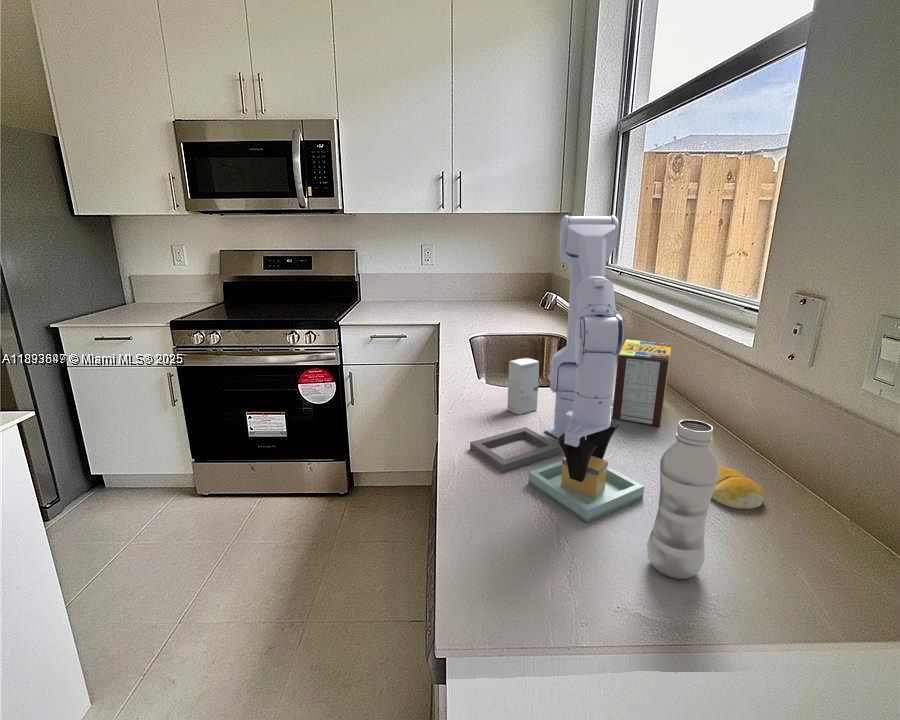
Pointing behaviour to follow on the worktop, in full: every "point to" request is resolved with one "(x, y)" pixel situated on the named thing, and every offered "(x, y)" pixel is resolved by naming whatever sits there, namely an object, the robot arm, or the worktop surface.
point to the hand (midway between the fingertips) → (585, 470)
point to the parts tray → (580, 505)
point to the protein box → (641, 382)
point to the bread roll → (737, 490)
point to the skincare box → (523, 385)
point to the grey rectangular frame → (520, 460)
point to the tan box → (587, 477)
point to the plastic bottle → (684, 501)
